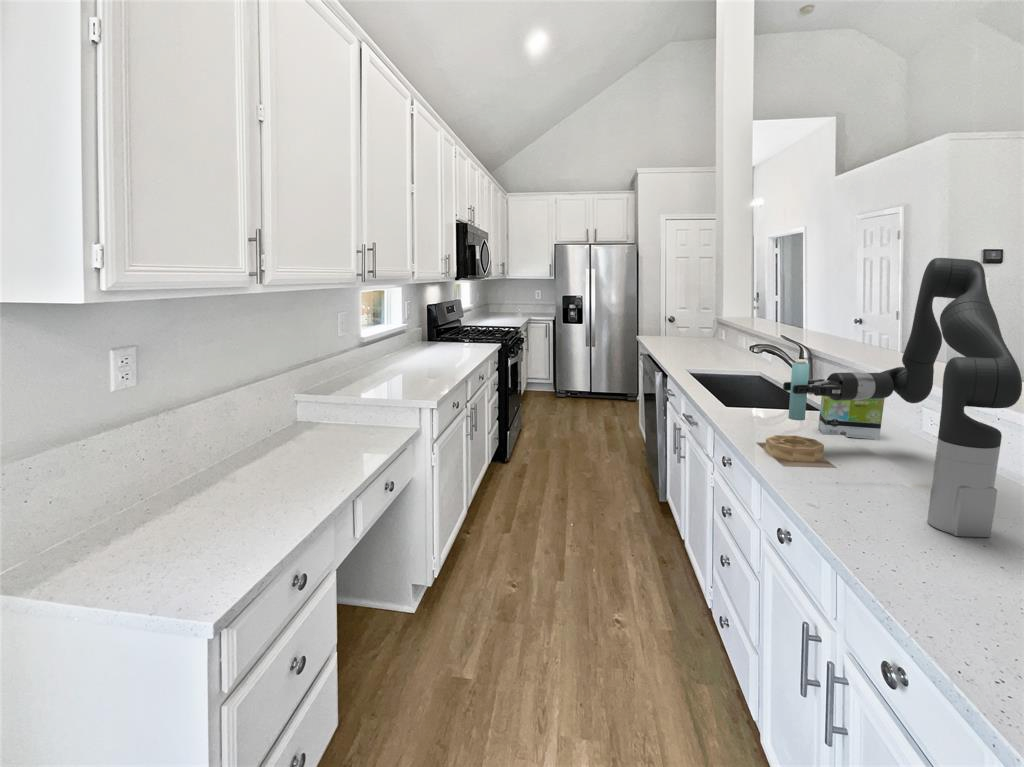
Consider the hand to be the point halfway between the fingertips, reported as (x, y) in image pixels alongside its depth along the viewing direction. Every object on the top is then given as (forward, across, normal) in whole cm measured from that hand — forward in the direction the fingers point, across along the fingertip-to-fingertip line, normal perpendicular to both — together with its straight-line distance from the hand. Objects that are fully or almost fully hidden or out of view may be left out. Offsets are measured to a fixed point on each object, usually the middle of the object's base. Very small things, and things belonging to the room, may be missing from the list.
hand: (789, 387), depth 149 cm
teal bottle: (-3, 0, +8) cm, 9 cm away
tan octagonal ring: (-3, 0, +18) cm, 19 cm away
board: (-3, 0, +20) cm, 20 cm away
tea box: (-33, -22, +20) cm, 45 cm away
